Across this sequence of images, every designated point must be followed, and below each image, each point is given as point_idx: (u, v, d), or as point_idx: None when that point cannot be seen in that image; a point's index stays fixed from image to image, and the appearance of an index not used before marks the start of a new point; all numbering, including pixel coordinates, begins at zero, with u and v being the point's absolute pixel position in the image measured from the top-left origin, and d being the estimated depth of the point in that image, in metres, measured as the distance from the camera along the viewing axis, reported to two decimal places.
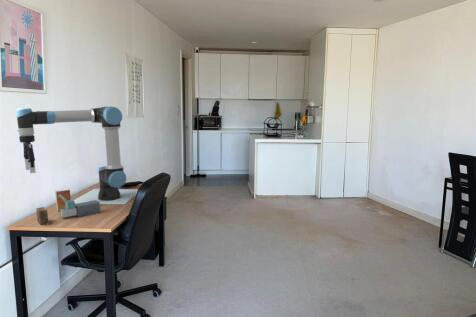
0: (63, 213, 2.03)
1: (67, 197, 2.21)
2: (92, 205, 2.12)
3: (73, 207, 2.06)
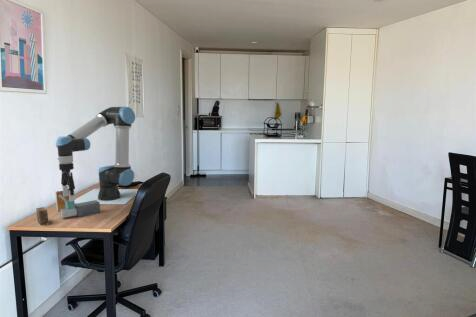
0: (63, 213, 2.03)
1: (67, 197, 2.21)
2: (92, 205, 2.12)
3: (73, 207, 2.06)
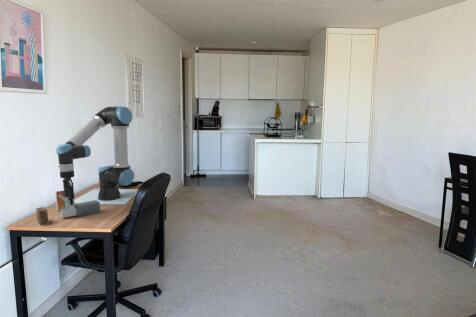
0: (63, 213, 2.03)
1: None
2: (92, 205, 2.12)
3: None
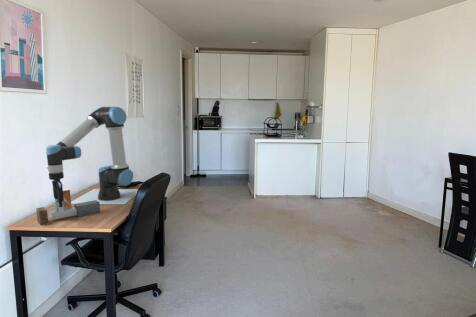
0: (52, 215, 1.99)
1: (67, 197, 2.21)
2: (92, 205, 2.12)
3: None
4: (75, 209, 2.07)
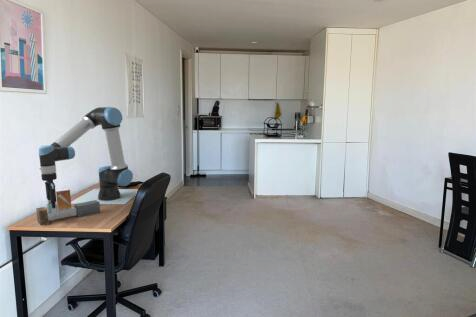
0: None
1: (67, 197, 2.21)
2: (92, 205, 2.12)
3: None
4: (68, 210, 2.05)
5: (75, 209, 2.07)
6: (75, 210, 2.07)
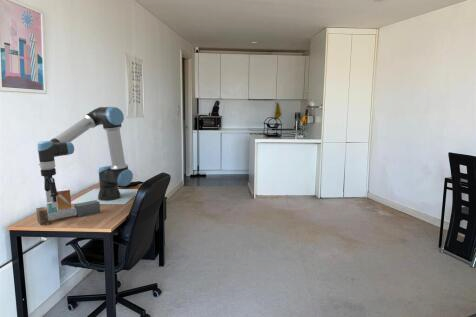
0: None
1: (67, 197, 2.21)
2: (92, 205, 2.12)
3: (55, 211, 2.00)
4: (68, 210, 2.05)
5: (75, 209, 2.07)
6: (75, 210, 2.07)
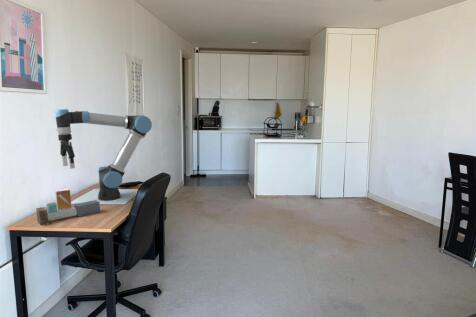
0: None
1: (67, 197, 2.21)
2: (92, 205, 2.12)
3: (55, 211, 2.00)
4: (68, 210, 2.05)
5: (75, 209, 2.07)
6: (75, 210, 2.07)
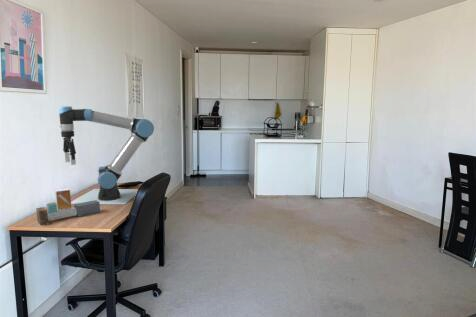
0: None
1: (67, 197, 2.21)
2: (92, 205, 2.12)
3: (55, 211, 2.00)
4: (68, 210, 2.05)
5: (75, 209, 2.07)
6: (75, 210, 2.07)
